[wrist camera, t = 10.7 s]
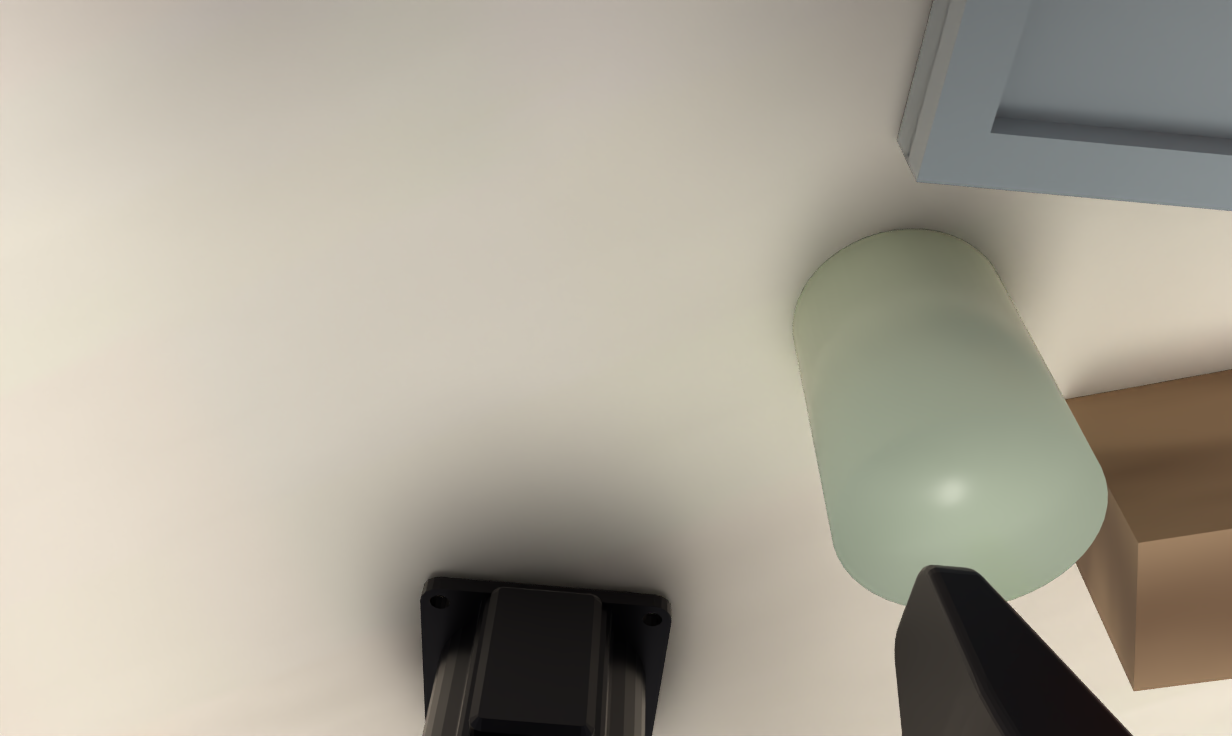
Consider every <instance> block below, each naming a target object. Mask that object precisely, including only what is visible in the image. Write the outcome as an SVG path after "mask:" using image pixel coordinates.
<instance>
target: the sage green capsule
mask: <svg viewBox="0 0 1232 736" xmlns="http://www.w3.org/2000/svg"><path fill="white" fill-rule="evenodd" d="M793 339H794V344H795V350H796V355H797V360H798V365H799V370H800V375H801V380H802V386H803V391H804V396H805V401H806V406H807V411H808V417H809V422H810V427H811V432H812V437H813V442H814V447H815V453H816V458H817V463H818V468H819V473H820V478H821V483H822V489H823V494H824V499H825V504H826V509H827V514H828V519H829V525H830V530H831V535H832V540H833V545H834V548H835V551H836V554H837V556H838V558H839V560H840V562H841V563H842V565H843V567H844V568H845V569H846V571H847V572H848V573H849V574H850V575H851V576H852V578H854V579H855V580H856V581H857V582H858V583H859V584H860V585H862V586H863V587H865V588H866V589H868V590H869V591H871V592H872V593H874V594H876V595H878V596H880V597H882V598H884V599H886V600H889V601H892V602H895V603H898V604H901V605H905V606H906V604H907V602H908V599H909V596H910V594H911V591H912V588H913V585H914V583H915V580H916V577H917V575H918V574H919V572H920V571H921V569H922V568H923V567H925V566H928V565H943V566H954V567H966V568H971V569H973V570H975V571H977V572H978V573H980V574H981V575H982V576H983V577H984V578H985V579H986V580H987V581H988V582H989V583H990V584H991V586H992V587H993V588H994V589H995V590H996V591H997V592H998V593H999V594H1000V595H1001V596H1002V597H1003V598H1004V599H1005V600H1006V601H1010V600H1013V599H1016V598H1018V597H1021V596H1023V595H1026V594H1028V593H1030V592H1032V591H1034V590H1036V589H1038V588H1040V587H1042V586H1044V585H1046V584H1047V583H1049V582H1051V581H1052V580H1054V579H1055V578H1057V577H1058V576H1060V575H1061V574H1062V573H1064V572H1065V571H1066V570H1067V569H1069V568H1070V567H1071V566H1072V565H1073V564H1074V563H1075V562H1076V561H1077V560H1078V559H1079V558H1080V557H1081V556H1082V555H1083V554H1084V553H1085V552H1086V551H1087V549H1088V548H1089V547H1090V545H1091V544H1092V543H1093V541H1094V539H1095V538H1096V536H1097V534H1098V533H1099V531H1100V528H1101V526H1102V523H1103V521H1104V519H1105V514H1106V510H1107V504H1108V490H1107V484H1106V479H1105V476H1104V473H1103V471H1102V468H1101V466H1100V464H1099V462H1098V460H1097V458H1096V457H1095V455H1094V453H1093V451H1092V449H1091V447H1090V445H1089V444H1088V442H1087V440H1086V438H1085V436H1084V434H1083V432H1082V431H1081V429H1080V427H1079V425H1078V423H1077V421H1076V419H1075V418H1074V416H1073V414H1072V412H1071V410H1070V408H1069V406H1068V404H1067V403H1066V401H1065V399H1064V397H1063V395H1062V393H1061V391H1060V390H1059V388H1058V386H1057V384H1056V382H1055V380H1054V378H1053V377H1052V375H1051V373H1050V371H1049V369H1048V367H1047V365H1046V364H1045V362H1044V360H1043V358H1042V356H1041V354H1040V352H1039V351H1038V349H1037V347H1036V345H1035V343H1034V341H1033V339H1032V338H1031V336H1030V334H1029V332H1028V330H1027V328H1026V326H1025V324H1024V323H1023V321H1022V319H1021V317H1020V315H1019V313H1018V311H1017V310H1016V308H1015V306H1014V304H1013V302H1012V300H1011V298H1010V297H1009V295H1008V293H1007V291H1006V289H1005V287H1004V285H1003V284H1002V282H1001V280H1000V278H999V276H998V274H997V273H996V271H995V269H994V268H993V266H992V264H991V263H990V262H989V261H988V260H987V258H986V257H985V256H984V255H983V254H982V253H981V252H979V251H978V250H977V249H976V248H975V247H973V246H972V245H970V244H968V243H967V242H965V241H963V240H961V239H959V238H957V237H954V236H952V235H949V234H945V233H942V232H938V231H932V230H925V229H902V230H893V231H888V232H883V233H879V234H875V235H872V236H869V237H866V238H864V239H861V240H859V241H857V242H855V243H852V244H851V245H849V246H847V247H845V248H844V249H842V250H840V251H839V252H837V253H836V254H835V255H833V256H832V257H831V258H829V259H828V260H827V261H826V262H825V263H824V264H823V265H822V266H821V267H820V268H818V270H817V271H816V272H815V273H814V274H813V276H812V277H811V278H810V279H809V281H808V282H807V284H806V286H805V287H804V289H803V291H802V293H801V295H800V297H799V299H798V302H797V305H796V308H795V312H794V318H793Z"/></svg>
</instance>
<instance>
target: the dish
mask: <svg viewBox="0 0 1232 736" xmlns="http://www.w3.org/2000/svg"><path fill="white" fill-rule="evenodd" d="M897 142H898V144H899V146H900V148H901V150H902V153H903V155H904V157H905V159H906V161H907V163H908V165H909V167H910V169H911V171H912V173H913V176H914V178H915V180H916V182H923V183H934V184H945V185H956V186H967V187H978V188H988V189H999V190H1010V191H1021V192H1032V193H1043V194H1053V195H1064V196H1075V197H1086V198H1097V199H1108V200H1118V201H1129V202H1140V203H1151V204H1162V205H1173V206H1183V207H1194V208H1205V209H1216V210H1227V211H1232V0H933V3H932V7H931V11H930V15H929V19H928V22H927V26H926V30H925V34H924V38H923V42H922V46H921V49H920V53H919V57H918V61H917V65H916V69H915V73H914V76H913V80H912V84H911V88H910V92H909V96H908V100H907V104H906V107H905V111H904V115H903V119H902V123H901V127H900V131H899V134H898V138H897Z"/></svg>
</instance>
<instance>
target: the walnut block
mask: <svg viewBox="0 0 1232 736" xmlns="http://www.w3.org/2000/svg"><path fill="white" fill-rule="evenodd" d="M1065 401H1066V403H1067V404H1068V406H1069V408H1070V410H1071V412H1072V414H1073V416H1074V418H1075V419H1076V421H1077V423H1078V425H1079V427H1080V429H1081V431H1082V432H1083V434H1084V436H1085V438H1086V440H1087V442H1088V444H1089V445H1090V447H1091V449H1092V451H1093V453H1094V455H1095V457H1096V458H1097V460H1098V462H1099V464H1100V466H1101V468H1102V471H1103V473H1104V476H1105V479H1106V484H1107V490H1108V504H1107V510H1106V514H1105V519H1104V521H1103V523H1102V526H1101V528H1100V531H1099V533H1098V534H1097V536H1096V538H1095V539H1094V541H1093V543H1092V544H1091V545H1090V547H1089V548H1088V549H1087V551H1086V552H1085V553H1084V554H1083V555H1082V556H1081V557H1080V558H1079V559H1078V560H1077V561H1076V564H1077V567H1078V569H1079V571H1080V573H1081V576H1082V578H1083V580H1084V582H1085V584H1086V587H1087V589H1088V591H1089V593H1090V595H1091V598H1092V600H1093V602H1094V604H1095V607H1096V609H1097V611H1098V613H1099V615H1100V618H1101V620H1102V622H1103V624H1104V626H1105V629H1106V631H1107V633H1108V635H1109V638H1110V640H1111V642H1112V644H1113V646H1114V649H1115V651H1116V653H1117V655H1118V657H1119V660H1120V662H1121V664H1122V666H1123V669H1124V671H1125V673H1126V675H1127V677H1128V680H1129V682H1130V684H1131V686H1132V688H1133V691H1140V690H1147V689H1155V688H1163V687H1170V686H1178V685H1186V684H1194V683H1201V682H1209V681H1217V680H1225V679H1232V369H1231V370H1226V371H1220V372H1215V373H1209V374H1204V375H1198V376H1193V377H1187V378H1182V379H1176V380H1171V381H1165V382H1160V383H1154V384H1149V385H1143V386H1138V387H1132V388H1126V389H1121V390H1115V391H1110V392H1104V393H1099V394H1093V395H1088V396H1082V397H1077V398H1071V399H1066V400H1065Z"/></svg>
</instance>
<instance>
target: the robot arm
mask: <svg viewBox="0 0 1232 736" xmlns="http://www.w3.org/2000/svg"><path fill="white" fill-rule="evenodd" d="M437 595H441V596H445V597H440V596H437ZM420 603H421V628H422V652H423V676H424V700H425V726H424V731H423V735H422V736H652V731H653V725H654V720H655V714H656V708H657V702H658V696H659V691H660V685H661V679H662V673H663V668H664V662H665V656H666V650H667V644H668V639H669V633H670V627H671V604H670V603H669V601H668V600H667V599H665V598H663V597H662V596H658V595H651V594H639V593H627V592H615V591H603V590H591V589H579V588H567V587H555V586H543V585H531V584H519V583H507V582H495V581H483V580H471V579H459V578H447V577H435V578H432V579H429V580H428V581H427V582H426V583H425V584H424V588H423V592H422V596H421V600H420ZM648 613H655V614H648ZM895 667H896V677H897V687H898V697H899V707H900V718H901V728H902V736H1133V735H1132V734H1131V733H1130V732H1129V731H1128V730H1127V729H1126V728H1125V727H1124V726H1123V725H1122V723H1121V722H1120V721H1119V720H1118V719H1117V718H1116V717H1115V716H1114V715H1113V714H1112V713H1111V712H1110V711H1109V710H1108V709H1107V708H1106V706H1105V705H1104V704H1103V703H1102V702H1101V701H1100V700H1099V699H1098V698H1097V697H1096V696H1095V695H1094V694H1093V693H1092V692H1091V691H1090V689H1089V688H1088V687H1087V686H1086V685H1085V684H1084V683H1083V682H1082V681H1081V680H1080V679H1079V678H1078V677H1077V676H1076V675H1075V674H1074V673H1073V671H1072V670H1071V669H1070V668H1069V667H1068V666H1067V665H1066V664H1065V663H1064V662H1063V661H1062V660H1061V659H1060V658H1059V657H1058V656H1057V654H1056V653H1055V652H1054V651H1053V650H1052V649H1051V648H1050V647H1049V646H1048V645H1047V644H1046V643H1045V642H1044V641H1043V640H1042V639H1041V638H1040V636H1039V635H1038V634H1037V633H1036V632H1035V631H1034V630H1033V629H1032V628H1031V627H1030V626H1029V625H1028V624H1027V623H1026V622H1025V621H1024V619H1023V618H1022V617H1021V616H1020V615H1019V614H1018V613H1017V612H1016V611H1015V610H1014V609H1013V608H1012V607H1011V606H1010V605H1009V604H1008V603H1007V601H1006V600H1005V599H1004V598H1003V597H1002V596H1001V595H1000V594H999V593H998V592H997V591H996V590H995V589H994V588H993V587H992V586H991V584H990V583H989V582H988V581H987V580H986V579H985V578H984V577H983V576H982V575H981V574H980V573H978V572H977V571H975V570H973V569H971V568H966V567H954V566H943V565H928V566H925V567H923V568H922V569H921V571H920V572H919V574H918V575H917V577H916V580H915V583H914V585H913V588H912V591H911V594H910V596H909V599H908V602H907V604H906V607H905V610H904V613H903V615H902V618H901V621H900V623H899V626H898V629H897V633H896V638H895Z"/></svg>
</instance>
